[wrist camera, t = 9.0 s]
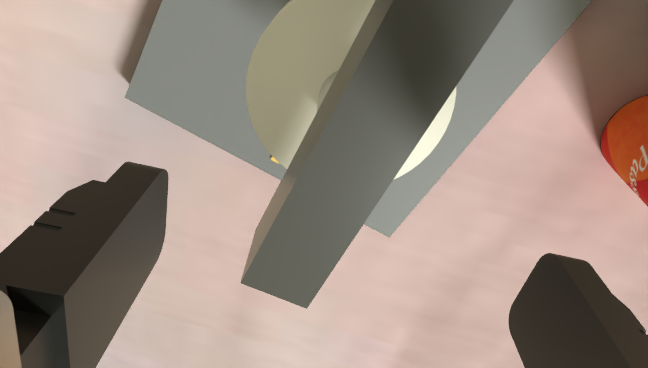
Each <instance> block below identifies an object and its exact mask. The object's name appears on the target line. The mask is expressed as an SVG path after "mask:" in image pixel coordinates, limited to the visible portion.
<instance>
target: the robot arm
mask: <svg viewBox="0 0 648 368" xmlns="http://www.w3.org/2000/svg"><path fill="white" fill-rule="evenodd" d="M167 194H168V173H167V171H166V170H165V169H160V168H156V167H151V166H146V165H142V164H137V163H132V162H126V163H124V164H123V165H122V166H121V167H120V168H119V169H118V170H117V171H116V172H115V173H114V174H113V175H112V176H111V177H110V178H109V179H108V180H107V182H106V183H105V182H100V181H96V180H92V181H90V182H88V183H85V184H83V185H81V186H78V187H76V188H74V189H72V190H69V191H67V192H66V193H65V194H64V195H63V196H62V197H61V198H60V199H59V200H58V201H56V202H55V203H54V204H53V205H52V206H51V207H50V209H49V212H48V211H46V212H45V213H43V214H42V215H41V216H40V217H39V218H38V219H37V220H36V221H35V223H34V225H33V226H31V225H30V226H29V227H28V228H27V229H26V230H25V231H24V232H23V233H22V234H21V235H20V236H19V237H17V238H16V239H15V240H14V241H13V242H12V243H11V244H10V245H9V246H8V247H7V248H6V249H4V250H3V251H2V252H1V253H0V368H96V366H97V364H98V362H99V361H100V359H101V357H102V355H103V354H104V352H105V350H106V349H107V347H108V345H109V343H110V342H111V340H112V338H113V336H114V335H115V333H116V331H117V329H118V328H119V326H120V324H121V323H122V321H123V319H124V317H125V316H126V314H127V312H128V310H129V309H130V307H131V305H132V303H133V302H134V300H135V298H136V297H137V295H138V293H139V291H140V290H141V288H142V286H143V284H144V283H145V281H146V279H147V277H148V276H149V274H150V272H151V270H152V269H153V267H154V265H155V264H156V262H157V260H158V258H159V255H160V252H161V249H162V246H163V242H164V237H165V228H166V211H167ZM509 329H510V333H511V336H512V338H513V340H514V343H515V345H516V348H517V350H518V352H519V355H520V357H521V360H522V362H523V364H524V367H525V368H648V335H646V334H645V332H646V330H645V329H644V328H643V326H642V325H641V324H640V322H639V321H638V320H637V318H636V317H635V316H634V314H633V313H632V312H631V310H630V309H629V308H628V307H626V306H625V305H624V304H623V303H622V302H621V301H620V300H618V299H617V298H616V297H615V296H614V295H613V294H612V293H611V292H610V290H609V289H608V288H607V286H606V285H605V284H604V282H603V281H602V280H601V278H600V277H599V276H598V274H597V273H596V272H595V270H594V269H593V268H592V266H591V265H590V264H589V263H588V262H586V261H584V260H580V259H575V258H570V257H566V256H561V255H556V254H552V253H548V254H545V255H544V256H542V257H541V258H540V259H539V261H538V262H537V264H536V266H535V267H534V269H533V271H532V272H531V274H530V276H529V277H528V279H527V281H526V282H525V284H524V286H523V287H522V289H521V291H520V292H519V294H518V295H517V297H516V299H515V300H514V302H513V304H512V306H511V309H510V313H509Z"/></svg>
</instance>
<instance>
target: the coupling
mask: <svg viewBox="0 0 648 368" xmlns="http://www.w3.org/2000/svg"><path fill="white" fill-rule="evenodd" d="M513 1H514V0H290V1H289V2H288V3H287V4H286V5H285V6H284V7H283V8H282V9H281V10H280V11H279V12H278V14H277V15H276V16H275V18H274V19H273V20H272V21H271V23H270V24H269V25H268V27H267V28H266V30H265V31H264V33H263V34H262V35H261V37H260V38H259V40H258V42H257V45H256V47H255V49H254V51H253V53H252V56H251V59H250V62H249V66H248V72H247V77H246V99H247V107H248V111H249V116H250V119H251V122H252V124H253V127H254V129H255V131H256V133H257V135H258V137H259V139H260V141H261V142H262V144H263V145H264V147H265V148H266V149H267V151H268V152H269V153H270V154H271V155H272V156H273V157H274V158H275V160H277V161H278V162H279V163H280V164H281V165H282V166H283V167H285V168H286V169H287V171H286V173H285V175H284V176H283V178H282V180H281V182H280V184H279V186H278V188H277V190H276V192H275V194H274V196H273V198H272V199H271V201H270V203H269V205H268V207H267V209H266V211H265V213H264V215H263V217H262V219H261V221H260V222H259V224H258V226H257V228H256V231H255V234H254V238H253V241H252V245H251V248H250V252H249V255H248V259H247V262H246V266H245V269H244V273H243V276H242V280H241V283H242V284H244V285H247V286H250V287H252V288H255V289H257V290H260V291H263V292H265V293H268V294H270V295H273V296H276V297H278V298H281V299H283V300H286V301H289V302H291V303H294V304H296V305H299V306H301V307H304V308H307V307H308V306H309V304H310V303H311V302H312V300H313V299H314V297H315V296H316V294H317V293H318V291H319V290H320V288H321V287H322V285H323V284H324V282H325V281H326V279H327V278H328V276H329V275H330V273H331V272H332V270H333V269H334V267H335V266H336V264H337V263H338V261H339V260H340V258H341V257H342V255H343V254H344V252H345V251H346V249H347V248H348V246H349V245H350V243H351V242H352V240H353V239H354V238H355V236H356V235H357V233H358V232H359V230H360V229H361V227H362V226H363V224H364V223H365V221H366V220H367V218H368V217H369V215H370V214H371V212H372V211H373V209H374V208H375V206H376V205H377V203H378V202H379V200H380V199H381V197H382V196H383V194H384V193H385V191H386V190H387V188H388V187H389V185H390V184H391V182H392V181H393V180H394V179H396V178H398V177H400V176H402V175H404V174H405V173H407V172H409V171H410V170H412V169H413V168H414V167H416V166H417V165H418V164H420V163H421V162H422V161H423V160H424V159H425V158H426V157H427V156H428V155H429V154H430V153H431V152H432V150H433V149H434V148H435V147H436V145H437V144H438V143H439V141H440V139H441V138H442V136H443V135H444V133H445V131H446V129H447V126H448V124H449V122H450V120H451V116H452V113H453V109H454V105H455V99H456V86H457V84H458V83H459V81H460V80H461V78H462V77H463V75H464V74H465V72H466V71H467V69H468V68H469V66H470V65H471V63H472V62H473V60H474V59H475V57H476V56H477V54H478V53H479V51H480V50H481V48H482V47H483V45H484V44H485V43H486V41H487V40H488V38H489V37H490V35H491V34H492V32H493V31H494V29H495V28H496V26H497V25H498V23H499V22H500V20H501V19H502V17H503V16H504V14H505V13H506V11H507V10H508V8H509V7H510V5H511V4H512V2H513Z"/></svg>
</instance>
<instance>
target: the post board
mask: <svg viewBox="0 0 648 368" xmlns="http://www.w3.org/2000/svg"><path fill="white" fill-rule="evenodd" d="M289 1H290V0H162V2H161V5H160V7H159V10H158V12H157V15H156V18H155V20H154V23H153V25H152V28H151V31H150V33H149V36H148V38H147V41H146V44H145V46H144V49H143V51H142V54H141V57H140V59H139V62H138V64H137V67H136V70H135V72H134V75H133V77H132V80H131V82H130V85H129V88H128V90H127V93H126V95H125V98H127V99H128V100H130V101H132V102H134V103H136V104H138V105H140V106H142V107H144V108H145V109H147V110H149V111H151V112H153V113H155V114H157V115H159V116H161V117H162V118H164V119H166V120H168V121H170V122H172V123H174V124H176V125H178V126H179V127H181V128H183V129H185V130H187V131H189V132H191V133H193V134H195V135H196V136H198V137H200V138H202V139H204V140H206V141H208V142H210V143H212V144H213V145H215V146H217V147H219V148H221V149H223V150H225V151H227V152H229V153H231V154H232V155H234V156H236V157H238V158H240V159H242V160H244V161H246V162H248V163H249V164H251V165H253V166H255V167H257V168H259V169H261V170H263V171H265V172H266V173H268V174H270V175H272V176H274V177H276V178H278V179H280V180H282V178H283V176H284V175H285V173H286V171H287V169H286V168H285V167H283V166H282V165H281V164H280V163H279V162H278V161H277V160H275V158H274V157H273V156H272V155H271V154H270V153H269V152H268V151H267V149H266V148H265V147H264V145H263V144H262V142H261V141H260V139H259V137H258V135H257V133H256V131H255V129H254V127H253V124H252V122H251V119H250V116H249V111H248V107H247V99H246V77H247V72H248V66H249V62H250V59H251V56H252V53H253V51H254V49H255V47H256V45H257V42H258V40H259V38H260V37H261V35H262V34H263V33H264V31H265V30H266V28H267V27H268V25H269V24H270V23H271V21H272V20H273V19H274V18H275V16H276V15H277V14H278V12H279V11H280V10H281V9H282V8H283V7H284V6H285V5H286V4H287V3H288V2H289ZM591 1H592V0H514V1H513V2H512V4H511V5H510V7H509V8H508V10H507V11H506V13H505V14H504V16H503V17H502V19H501V20H500V22H499V23H498V25H497V26H496V28H495V29H494V31H493V32H492V34H491V35H490V37H489V38H488V40H487V41H486V43H485V44H484V45H483V47H482V48H481V50H480V51H479V53H478V54H477V56H476V57H475V59H474V60H473V62H472V63H471V65H470V66H469V68H468V69H467V71H466V72H465V74H464V75H463V77H462V78H461V80H460V81H459V83H458V84H457V86H456V99H455V105H454V109H453V113H452V116H451V120H450V122H449V124H448V126H447V129H446V131H445V133H444V135H443V136H442V138H441V139H440V141H439V143H438V144H437V145H436V147H435V148H434V149H433V150H432V152H431V153H430V154H429V155H428V156H427V157H426V158H425V159H424V160H423V161H422V162H421V163H420V164H418V165H417V166H416V167H414V168H413V169H412V170H410V171H409V172H407V173H405V174H404V175H402V176H400V177H398V178H396V179H394V180H393V181H392V182H391V184H390V185H389V187H388V188H387V190H386V191H385V193H384V194H383V196H382V197H381V199H380V200H379V202H378V203H377V205H376V206H375V208H374V209H373V211H372V212H371V214H370V215H369V217H368V218H367V220H366V221H365V223H364V224H365V225H367V226H368V227H370V228H372V229H374V230H376V231H378V232H380V233H382V234H384V235H385V236H387V237H390V236H391V235H392V234H393V233H394V231H395V230H396V229H397V228H398V227H399V226H400V224H401V223H402V222H403V221H404V220H405V219H406V217H407V216H408V215H409V214H410V213H411V211H412V210H413V209H414V208H415V207H416V206H417V204H418V203H419V202H420V201H421V200H422V199H423V197H424V196H425V195H426V194H427V193H428V192H429V190H430V189H431V188H432V187H433V186H434V185H435V183H436V182H437V181H438V180H439V179H440V178H441V176H442V175H443V174H444V173H445V172H446V171H447V169H448V168H449V167H450V166H451V165H452V164H453V162H454V161H455V160H456V159H457V158H458V157H459V155H460V154H461V153H462V152H463V151H464V150H465V148H466V147H467V146H468V145H469V144H470V143H471V141H472V140H473V139H474V138H475V137H476V136H477V134H478V133H479V132H480V131H481V130H482V129H483V127H484V126H485V125H486V124H487V123H488V122H489V120H490V119H491V118H492V117H493V116H494V115H495V113H496V112H497V111H498V110H499V109H500V107H501V106H502V105H503V104H504V103H505V102H506V100H507V99H508V98H509V97H510V96H511V95H512V93H513V92H514V91H515V90H516V89H517V88H518V86H519V85H520V84H521V83H522V82H523V81H524V79H525V78H526V77H527V76H528V75H529V74H530V72H531V71H532V70H533V69H534V68H535V67H536V65H537V64H538V63H539V62H540V61H541V60H542V58H543V57H544V56H545V55H546V54H547V53H548V51H549V50H550V49H551V48H552V47H553V46H554V44H555V43H556V42H557V41H558V40H559V39H560V37H561V36H562V35H563V34H564V33H565V32H566V30H567V29H568V28H569V27H570V26H571V25H572V23H573V22H574V21H575V20H576V19H577V18H578V16H579V15H580V14H581V13H582V12H583V11H584V9H585V8H586V7H587V6H588V5H589V3H590V2H591Z"/></svg>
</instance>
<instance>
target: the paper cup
mask: <svg viewBox="0 0 648 368" xmlns="http://www.w3.org/2000/svg"><path fill="white" fill-rule="evenodd" d="M601 150H602V154H603V156H604V158H605V159H606V161H607V162H608V163H609V165H610V166H611V167H612V168H613V169H614V171H615V172H616V173H617V174H618V175H619V176H620V177H621V178H622V179H623V180H624V182H625V183H626V184H627V185H628V186H629V187H630V188H631V189H632V190H633V191H634V192H635V193H636V194H637V195H638V197H639V198H640V199H641V200H642V201H643V202H644V203H645V204H646V205H647V206H648V95H646V96H643V97H640V98H637V99H635V100H633V101H631V102H629V103H628V104H626V105H625V106H623V107H622V108H621V109H620V110H619V111H617V112H616V113H615V114H614V115H613V117H612V118H611V119H610V120H609V122H608V123H607V125H606V127H605V129H604V131H603V134H602V138H601Z"/></svg>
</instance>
